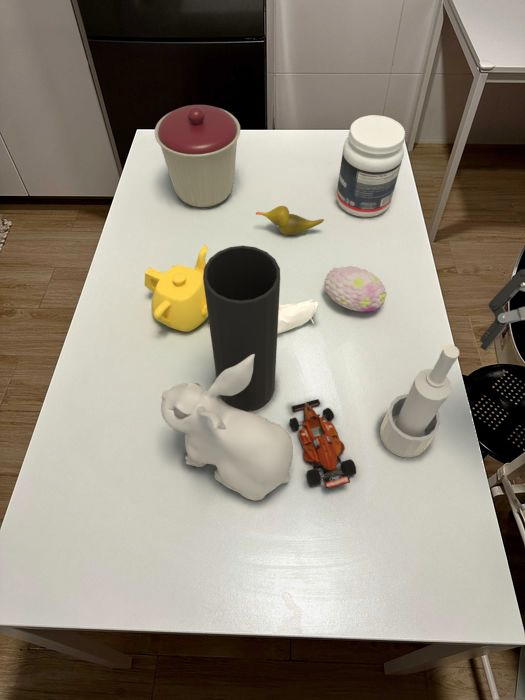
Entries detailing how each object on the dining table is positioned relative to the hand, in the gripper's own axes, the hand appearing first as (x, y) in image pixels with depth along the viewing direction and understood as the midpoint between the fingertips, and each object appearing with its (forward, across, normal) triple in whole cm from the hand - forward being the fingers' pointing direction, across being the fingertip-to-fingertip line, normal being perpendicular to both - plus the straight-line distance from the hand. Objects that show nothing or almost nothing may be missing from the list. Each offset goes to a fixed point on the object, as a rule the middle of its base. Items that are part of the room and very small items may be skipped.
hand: (512, 370), depth 63 cm
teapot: (+28, -53, +10) cm, 61 cm away
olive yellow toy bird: (+7, -56, +31) cm, 65 cm away
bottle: (+20, -7, +18) cm, 28 cm away
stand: (+21, -7, +18) cm, 28 cm away
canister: (+11, -79, +27) cm, 85 cm away
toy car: (+29, -15, +10) cm, 35 cm away
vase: (+31, -32, +8) cm, 45 cm away
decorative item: (+10, -33, +29) cm, 45 cm away
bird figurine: (+20, -37, +19) cm, 46 cm away
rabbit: (+38, -23, +1) cm, 45 cm away
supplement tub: (-7, -52, +45) cm, 70 cm away
